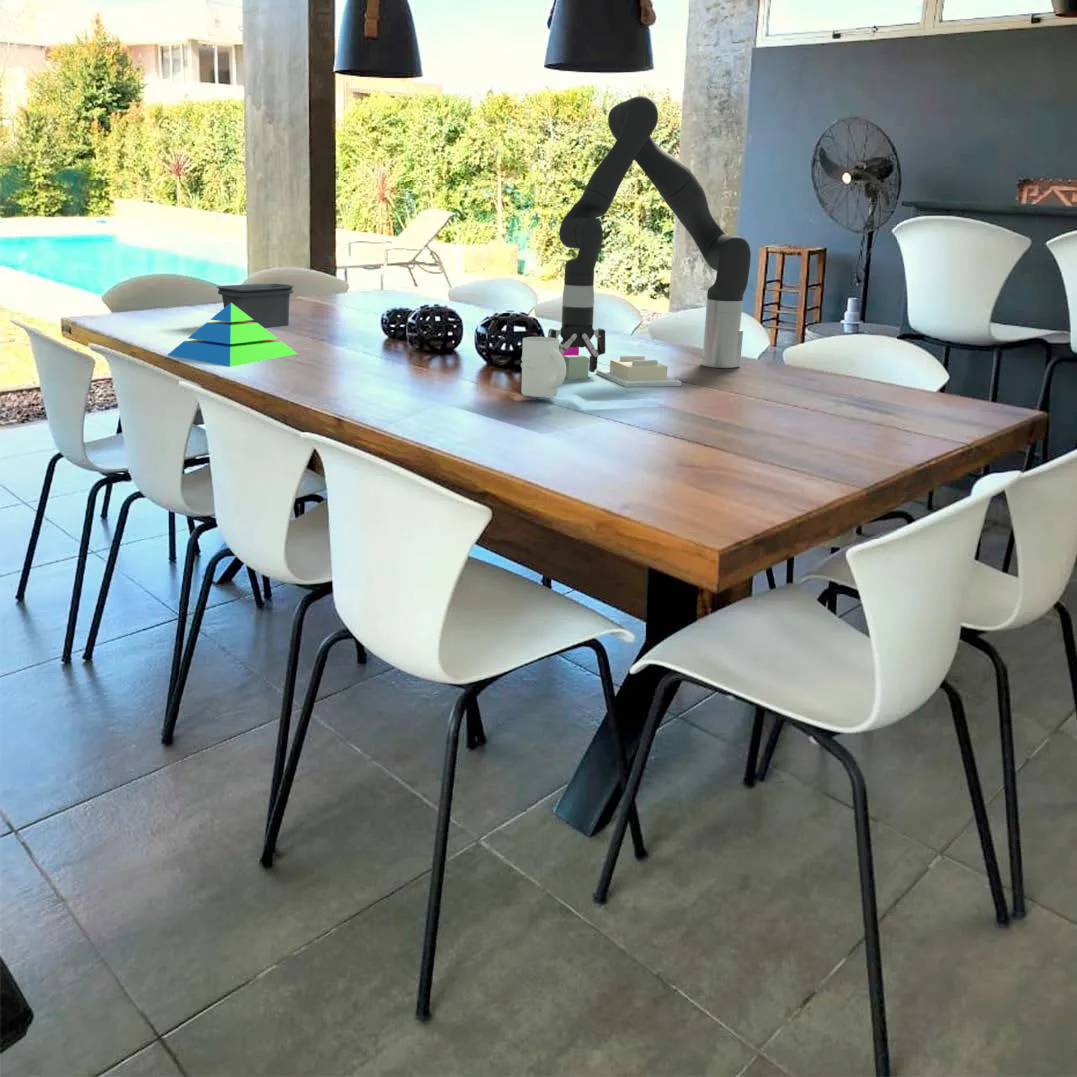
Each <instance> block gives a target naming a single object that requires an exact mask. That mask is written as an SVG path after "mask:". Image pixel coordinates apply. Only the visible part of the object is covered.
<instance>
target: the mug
mask: <svg viewBox="0 0 1077 1077" xmlns="http://www.w3.org/2000/svg"><path fill="white" fill-rule="evenodd" d="M559 344H560V339H559V338H551V337H548V336H527V337H523V338H522V348H521V349H522V351H521V352H522V353H521V354H522V355H521V358H520V361H522V362H521V363H520V367H521V394H522V395H523V396H525V397H526V396H527V397H533V398H535V397H536V398H547V397H548V398H549V397H556V396H557V395H558V393H559V392H558V390H559V387H561V386H562V385H563V383H564V381H565V379H566V363H565V360H564V358H563V356H562V354H561V353H560V352H559Z"/></svg>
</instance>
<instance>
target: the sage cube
mask: <svg viewBox="0 0 1077 1077" xmlns="http://www.w3.org/2000/svg"><path fill="white" fill-rule="evenodd" d="M563 358H564V360H565V363H566V377H565V379H568V380H575V379H577V380H578V379H589V373H590V371H589V360H590V357H588V356H585V355H582V354H579V355H563Z"/></svg>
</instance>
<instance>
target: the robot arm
mask: <svg viewBox="0 0 1077 1077" xmlns="http://www.w3.org/2000/svg"><path fill="white" fill-rule="evenodd" d="M607 117H608V118H607V123H608V127H609V131H610V132H611V134H612V136H613V137H614V138H615V140H616V141H615V143H614V145H613V146H612V147H611V148H610V150H609V152H608V153H607V154H605V155H606V156H605V157H604V158H603V159H602V160H601V162H600V163H599V164H598V166H596V168H595V169H594V171H593V173H592V174H591V176H590V178H589V180H588V183H587V184H586V186H585V189H584V191H583V193H582V195H581V197H580V198H579V199H578V200H577V201H576V202H575V204H574V205H573V206H572V208H571V209H570V210H569V212H567V214H566V215H565V216H564V218H563V220H562V222H561V223H560V227H559V231H558V232H559V233H558V234H559V236H558V237H559V241H560V243H561V244H562V245H563V246H565V247H567V248H570V249H579V250H578V253H577V256H576V257H575V258H571V259H568V260H567V261H565V265H564V277H563V278H564V282H563V283H564V285H563V290H562V291H563V292H562V308H561V311H562V312H561V314H562V315H561V327H560V329H553V328H548V332H547V337H551V338H557V339H559V336H560V337H561V338H562V340H561V341H560V342H559V352H560V353H561V354H563V353H564V352H565V351H566V350H567V349H568V347H571V348H575V347H579V348H585V349H586V350H587V352H588V354H590V356H589V373H595V372H596V370H598V358H599V356H600V355H604V354H605V353H606V330H605V329H603V328H598V329H594V328H593V326H594V311H595V310H594V307H595V289H594V288H595V287H594V285H595V283H594V282H595V267H596V264H597V261H598V257H599V255H600V254H599V253H600V251H601V247H602V244H603V238H604V231H603V226H602V224H601V223H600V221H599V220H598V219H597V218H600V217H603V216H604V215H606V214H607V212H609V210H610V207H611V205H612V203H613V200H614V198H615V197H616V194H617V192H618V190H619V188H620V186H621V183H622V181H623V180H624V178H625V176H626V174H627V172H628V170H629V169H630V167H631V165H632V164H633V162H634V161H635V162H636V164H637V165H638V166H639V167H640V169H641V170H642V172H644V174H645V175H646V177H647V178H648V179H649V181H650V182H651V183H652V184H653V186H654V187H655V189H656V190H657V192H658V193H659V195H660V197H662V199H663V201H664V202H665V203H666V204H667V206H668V207H669V208H670V210H671V211H672V212H673V214H674V215H675V216H676V217H677V219H678V220H679V222H680V224H682V226H683V227H684V228H685V230H686V231H687V232H688V234H689V235H690V237H691V238H692V240H694V243H695V245H696V246H697V248H698V250H699V251H700V254H701V255H702V256H703V259H704V260H705V262H706V263H707V265H708V266H709V267H710V268H711V269H712V270H713V271H716V275H715V276H716V277H715V281H714V283H713V285H711V286H709V287H708V289H707V294H706V295H707V296H706V305H705V306H706V307H705V308H706V309H705V321H704V330H703V331H704V333H703V347H702V357H701V365H702V366H704V367H707V368H721V369H730V368H731V369H732V368H740V367H741V362H742V361H741V360H742V359H741V358H742V350H743V349H742V348H743V338H744V337H743V336H744V331H743V329H741V326H742V325H741V323H742V314H743V313H742V312H743V303H744V302H743V300H744V294H745V292H746V290H747V287H748V284H749V283H748V282H749V276H750V275H749V274H750V267H751V255H752V254H751V253H752V252H751V247H750V244H749V243H748V241H747V240H746V239H745V238H744V237H742V236H737V235H728V234H727V233H725V231H723V229H722V228H721V227H720V226H719V224H718V223H717V222H716V220H715V219H714V217H713V216H712V213H711V211H710V208H709V207H710V206H709V203H708V200H707V199H708V198H707V196H706V193H705V190H704V188H703V187H702V185H701V183H700V181H699V180H698V179H697V178H696V175H694V173H693V172H692V170H691V169H690V168H689V167H688V166H687V164H685V163H683V162H682V161H681V160H680V159H678V158H676V157H675V156H674V155H672V154H670V153H668V152H667V151H665V150H664V149H663V148H661V146H659V145H658V144H657V142H656V141H655V140H654V139H653V138H652V137H651V135H652V133H653V132H654V130H655V129H656V126H657V125H658V122H659V121H658V120H659V112H658V107H657V105H656V103H655V102H654V101H653V100H652V98H649V97H648V96H645V95H638V96H634V97H631V98H629V99H626V100H625V101H622V102H620V103H618V104H616V105H614V106H613V107H612V108H611V109H610V111H609V113H608V116H607ZM593 336H594V337H595V338H596V341H597V342H596V343H597V344H596V345H597V347H596V348H597V349H596V348H595V346H594V344H593V343H592V341H591V340H592V338H593Z"/></svg>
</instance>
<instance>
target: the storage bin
mask: <svg viewBox="0 0 1077 1077" xmlns="http://www.w3.org/2000/svg"><path fill="white" fill-rule="evenodd" d="M216 288H217V289H218V291H217V294H218V295H221V297H222V302H223V303H222V304H223V309H224V308H225V307H226V306H227V305H228V304H230V303H232V304H234V305H235V306H236V307H238V308H239V309H240V310H242V311H243V312H244V313H245V314H247V315H248V316H249V317H251V318H252V319H253V320H248V321H247V322H255V323H258V324H260V325H261V326H262V327H264V328H265V329H268V328H278V327H287V326H288V327H289V326H290V294H294V290H293V288H294V285H293V284H284V283H251V284H248V283H247V284H230V285H229V284H228V285H216Z"/></svg>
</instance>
